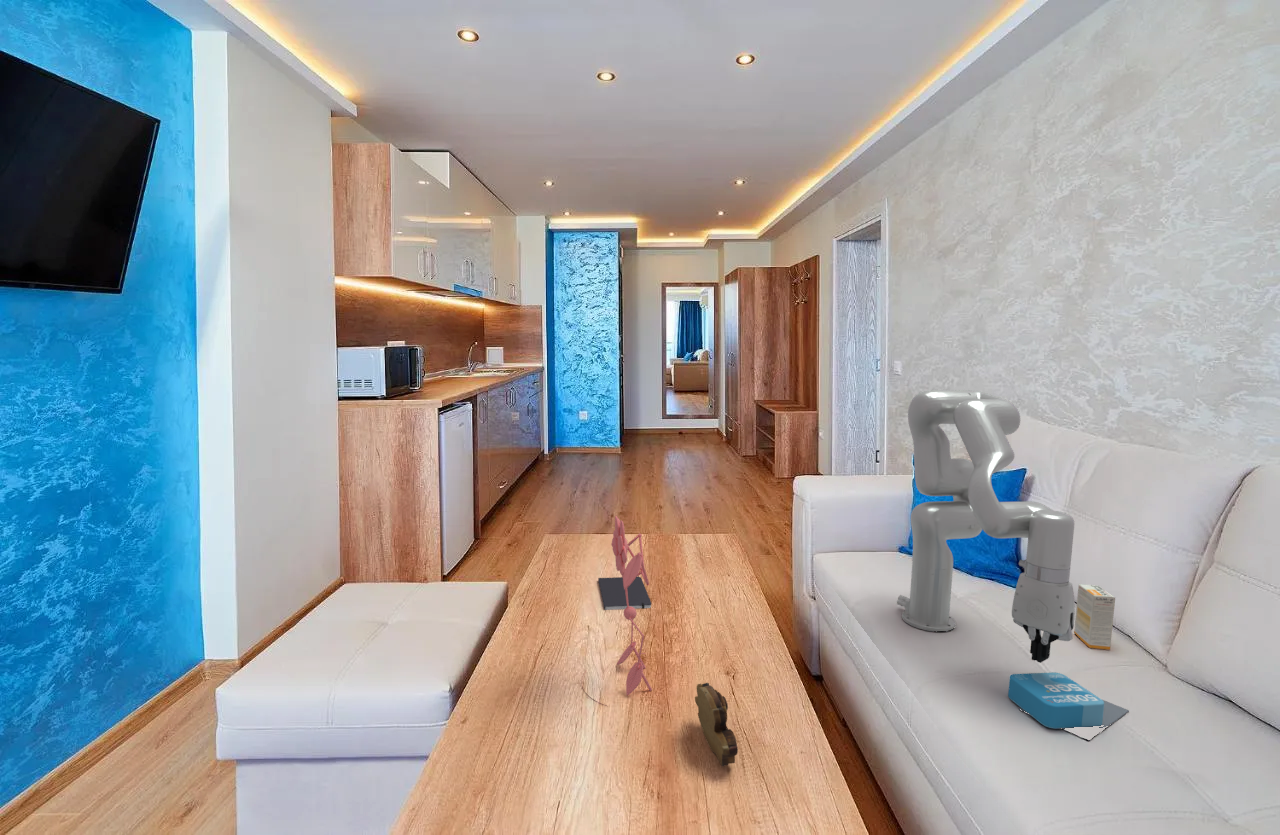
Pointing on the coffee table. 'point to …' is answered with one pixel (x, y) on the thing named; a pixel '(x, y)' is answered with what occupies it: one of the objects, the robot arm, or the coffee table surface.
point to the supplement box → (1094, 616)
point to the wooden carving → (716, 723)
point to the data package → (1056, 700)
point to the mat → (1110, 713)
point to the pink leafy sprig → (630, 613)
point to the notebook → (623, 594)
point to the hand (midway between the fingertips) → (1039, 659)
